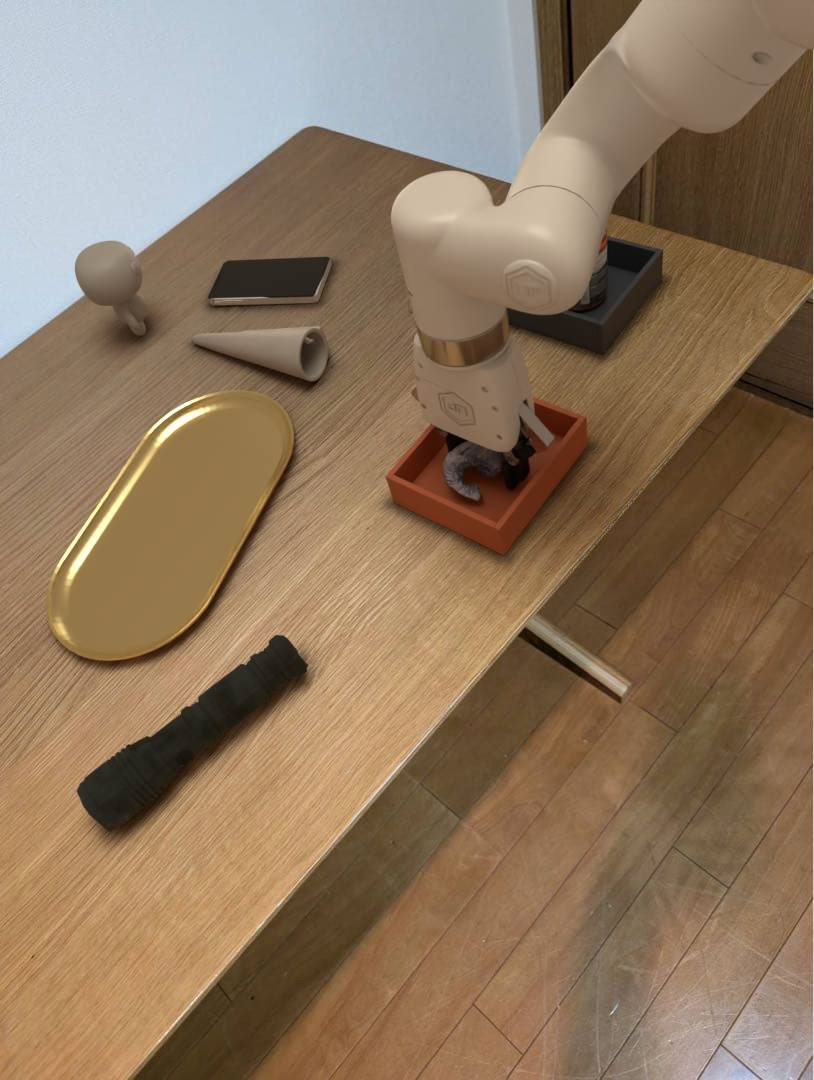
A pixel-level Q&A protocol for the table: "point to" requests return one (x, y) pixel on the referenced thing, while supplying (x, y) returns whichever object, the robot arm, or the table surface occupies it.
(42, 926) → the table surface
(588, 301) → the supplement bottle
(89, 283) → the figurine
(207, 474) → the serving platter
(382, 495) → the table surface
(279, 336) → the long tapered cone
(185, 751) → the flashlight
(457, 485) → the grey curved ribbed piece
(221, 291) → the smartphone
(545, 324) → the slate bin
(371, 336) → the table surface
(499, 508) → the terracotta bin
